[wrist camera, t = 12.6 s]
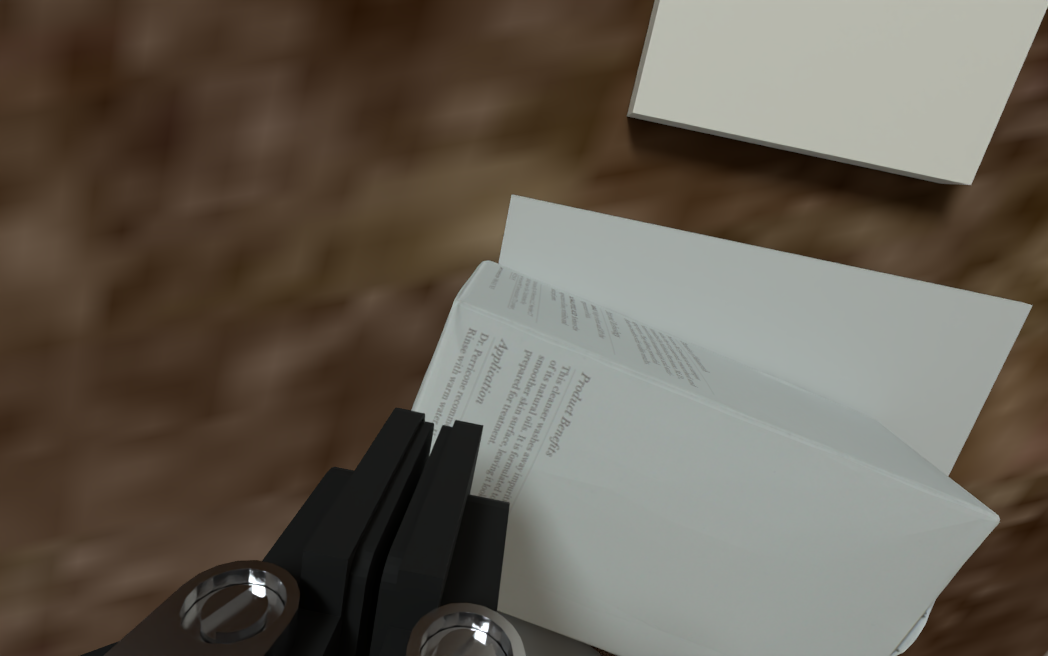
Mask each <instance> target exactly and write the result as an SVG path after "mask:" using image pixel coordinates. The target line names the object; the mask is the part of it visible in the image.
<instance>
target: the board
mask: <svg viewBox="0 0 1048 656" xmlns="http://www.w3.org/2000/svg"><path fill="white" fill-rule="evenodd" d="M1047 7H1048V0H655V2H654V6H653V10H652V14H651V19H650V23H649V27H648V31H647V35H646V39H645V43H644V48H643V52H642V56H641V60H640V64H639V68H638V72H637V77H636V81H635V85H634V89H633V93H632V97H631V101H630V106H629V110H628V114H627V117H632V118H637V119H641V120H646V121H651V122H655V123H660V124H665V125H669V126H674V127H679V128H684V129H688V130H693V131H698V132H702V133H707V134H712V135H716V136H721V137H726V138H730V139H735V140H740V141H744V142H749V143H754V144H758V145H763V146H768V147H772V148H777V149H782V150H786V151H791V152H796V153H800V154H805V155H810V156H814V157H819V158H824V159H828V160H833V161H838V162H842V163H847V164H852V165H856V166H861V167H866V168H870V169H875V170H880V171H884V172H889V173H894V174H898V175H903V176H908V177H912V178H917V179H922V180H926V181H931V182H936V183H940V184H958V185H971V184H972V181H973V179H974V177H975V174H976V172H977V170H978V167H979V165H980V163H981V160H982V158H983V156H984V153H985V151H986V149H987V146H988V144H989V142H990V139H991V137H992V135H993V132H994V130H995V128H996V125H997V123H998V121H999V118H1000V116H1001V114H1002V112H1003V109H1004V107H1005V105H1006V102H1007V100H1008V98H1009V95H1010V93H1011V91H1012V88H1013V86H1014V84H1015V81H1016V79H1017V77H1018V74H1019V72H1020V70H1021V67H1022V65H1023V63H1024V60H1025V58H1026V56H1027V53H1028V51H1029V49H1030V46H1031V44H1032V42H1033V39H1034V37H1035V35H1036V32H1037V30H1038V28H1039V25H1040V23H1041V21H1042V18H1043V16H1044V14H1045V12H1046V9H1047Z"/></svg>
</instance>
